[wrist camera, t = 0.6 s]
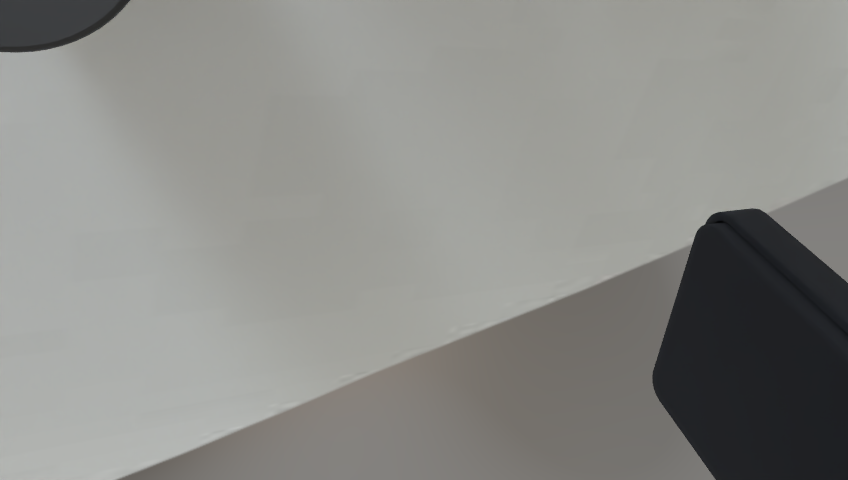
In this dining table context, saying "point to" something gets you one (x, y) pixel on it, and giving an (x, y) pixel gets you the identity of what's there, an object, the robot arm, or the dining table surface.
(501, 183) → the dining table surface
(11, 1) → the jar
